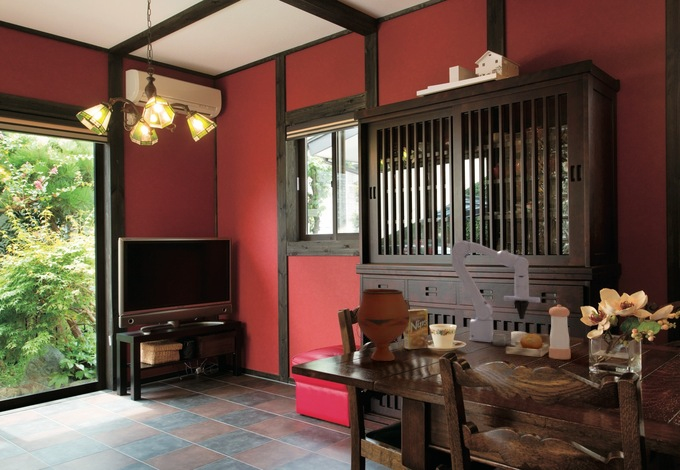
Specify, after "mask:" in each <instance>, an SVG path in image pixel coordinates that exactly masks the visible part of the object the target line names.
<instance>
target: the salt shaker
mask: <svg viewBox="0 0 680 470" xmlns="http://www.w3.org/2000/svg"><path fill="white" fill-rule="evenodd" d="M548 313H549V315H550V318H551V320H550V321H551V327H550V334H549V351H548V357H549V358H551V359H555V360H570V359H571V355H572V354H571V347H570V336H569V329H568V317H569V316H570V313H571V312H570V310H569V309H568V308H567V307H565V306H562V304H557V305H556V306H553V307H550V308H549V311H548Z"/></svg>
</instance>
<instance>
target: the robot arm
mask: <svg viewBox="0 0 680 470" xmlns="http://www.w3.org/2000/svg"><path fill="white" fill-rule="evenodd" d="M474 253H478V254H481V255H484V256H487V257H489V258H493V259H495V261H496V263H497V264H499V265H502V266H505V267H507V268H510V269H512V268H514V277H513V279H514V280H513V281H514V282H513V283H514V286H513V287H514V295H504V296H503V302H504V301H505V302H509V301H510V302H513V304H514V306H515V308H516V310H517V314H518V317H519V320H524V319H525V316H526V311H527V309H528V307H529V306H530V305H529V304H530V303H541V297H537V296H530V292H529V290H530V282H529V281H530V280H529V279H530V277H529V269H528V268H529V266H530V265H529V260H527V258H525V257H523V256H520V254H514V253H511V252H509V250H508V249H504V250H500V251H497V250H495V249H492V248H489V247H486V246H485V245H482V244H480V243H477V242H472V241H468V240H458V241H456V242H455V243H454V244H453V246H452V249H451V254H452V255H451V265H452V268H453V270H454V271H455V272H456V275H457V276H458V278H459V280H460V282H461V283H462V286H463V288H464V289H465V291H466V293H467V295H468V296H469V298H470V299H471V302H472V305H473V308H474V310H475V311H474V312H475V316H476V317H475V318H471V319H470V321H469V339H468V340H469V341H474V342H482V343H483V342H484V343H493V334H494V318H493V317H492V315H493V313H494V308H493V306H492V304H490V303H489V302H488V301H487V300H486V299H485V297H484V296H483V294H482V293H481V291H480V290H479V288H478V286H477V284H476V282H475V281H474V278H473V276H471V273H470V271H469V270H468V268H467V267H466V265H465V262H466V259H467V256H468V255H469V254H474Z"/></svg>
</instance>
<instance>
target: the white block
mask: <svg viewBox="0 0 680 470" xmlns="http://www.w3.org/2000/svg"><path fill="white" fill-rule="evenodd" d="M510 333H511V334H510V337H511V338H510V339H511V340H510V343H511V345H512V346H513V347H515V341H520V340H521V338H522V337H523V336H525V335H526V334H528V333H527V332H526V331H517V330H515V331H511V332H510Z"/></svg>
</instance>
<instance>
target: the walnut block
mask: <svg viewBox="0 0 680 470" xmlns="http://www.w3.org/2000/svg"><path fill="white" fill-rule="evenodd" d="M536 334H537V335H538V336H539V337H541V338H542V343H543V344H549V345H550V335H549V334H547V333H536Z"/></svg>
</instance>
